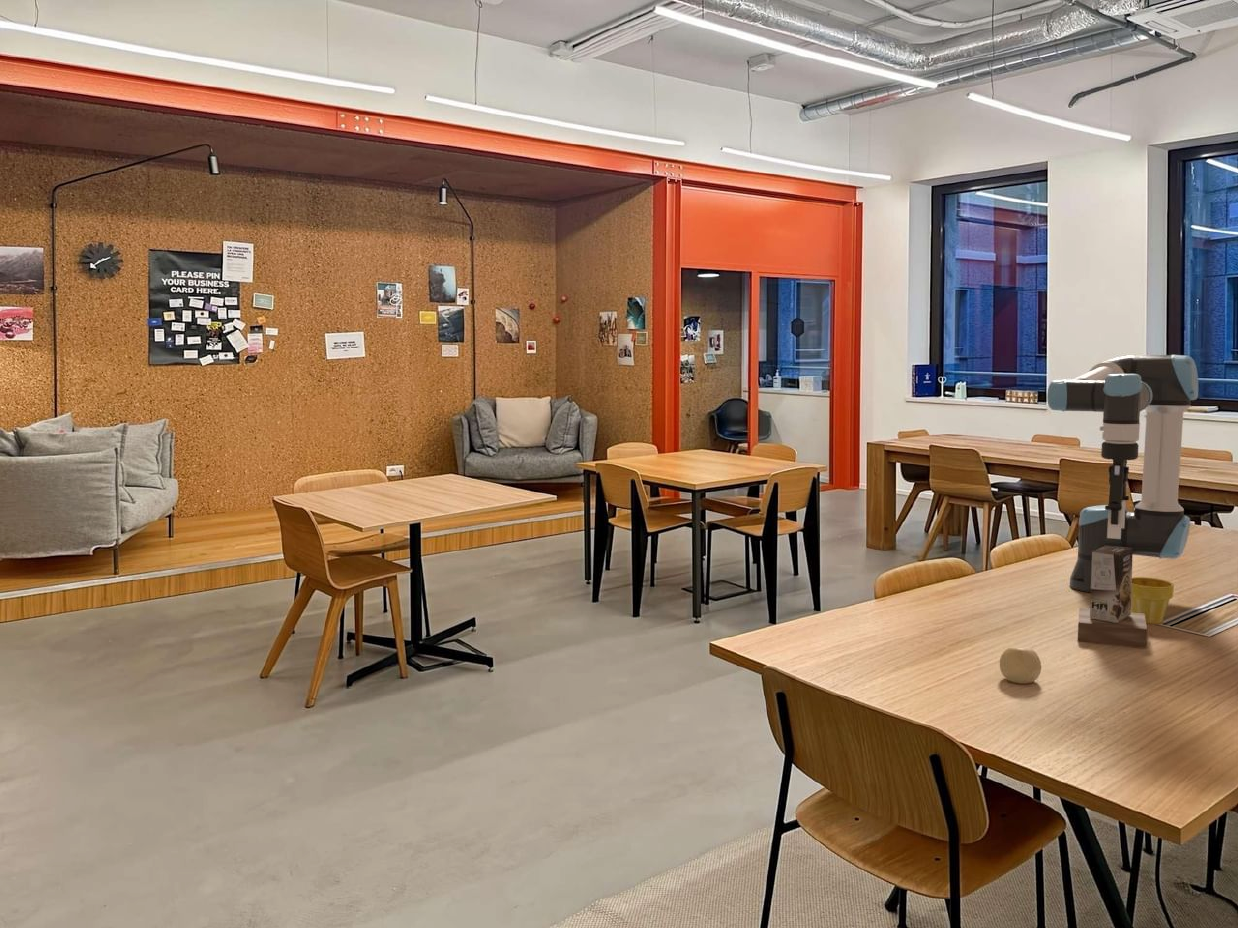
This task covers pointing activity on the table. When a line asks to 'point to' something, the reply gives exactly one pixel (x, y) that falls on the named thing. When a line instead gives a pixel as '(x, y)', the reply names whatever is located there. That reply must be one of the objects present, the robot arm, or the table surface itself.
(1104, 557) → the coffee box
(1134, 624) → the walnut block
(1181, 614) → the table surface
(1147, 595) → the plant pot
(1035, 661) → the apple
